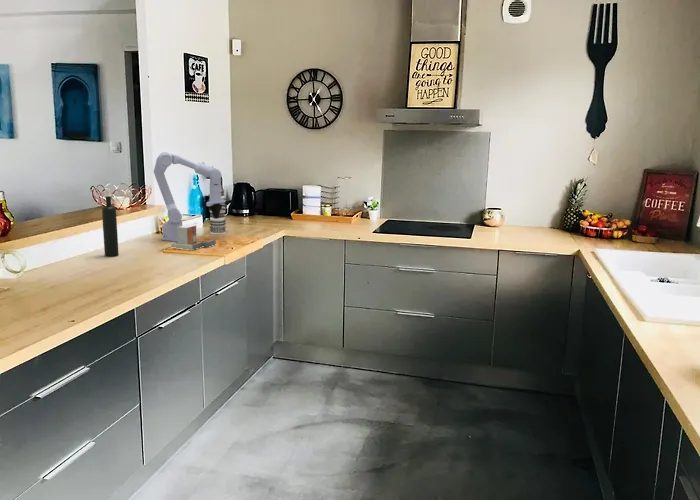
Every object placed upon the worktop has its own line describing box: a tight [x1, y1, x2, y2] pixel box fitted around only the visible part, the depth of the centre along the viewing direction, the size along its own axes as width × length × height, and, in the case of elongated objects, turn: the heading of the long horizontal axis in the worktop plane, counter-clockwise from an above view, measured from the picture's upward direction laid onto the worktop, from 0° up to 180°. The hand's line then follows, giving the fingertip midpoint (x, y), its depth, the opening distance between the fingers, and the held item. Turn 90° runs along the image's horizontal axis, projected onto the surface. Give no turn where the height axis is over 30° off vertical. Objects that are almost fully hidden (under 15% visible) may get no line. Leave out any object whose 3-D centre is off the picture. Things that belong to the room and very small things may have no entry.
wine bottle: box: [101, 187, 120, 258], centre depth 261 cm, size 6×6×30 cm
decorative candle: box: [208, 186, 227, 235], centre depth 320 cm, size 9×9×25 cm
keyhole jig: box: [170, 239, 217, 251], centre depth 287 cm, size 16×17×2 cm
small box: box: [177, 224, 198, 245], centre depth 284 cm, size 8×6×10 cm
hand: (216, 218), depth 307 cm, fingers closed
